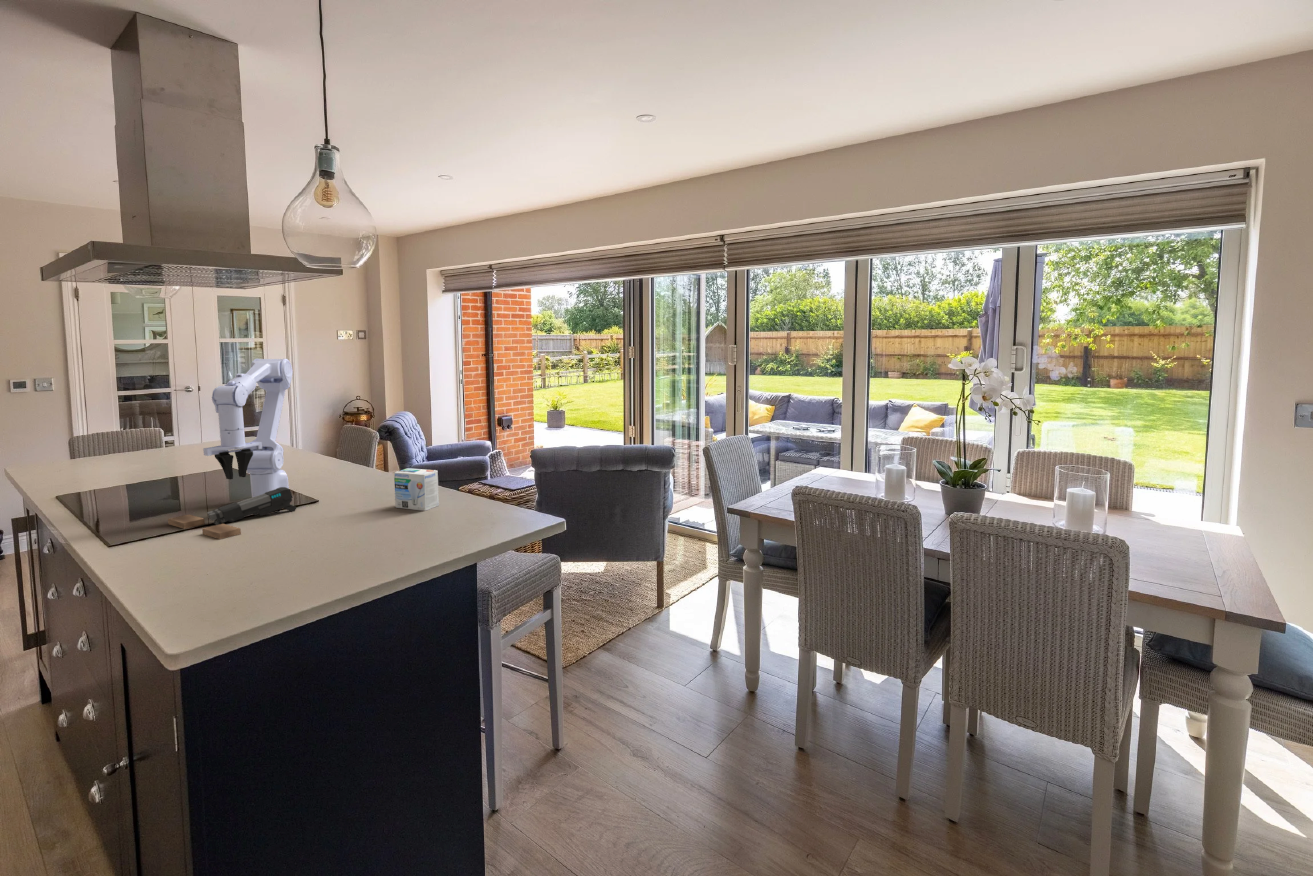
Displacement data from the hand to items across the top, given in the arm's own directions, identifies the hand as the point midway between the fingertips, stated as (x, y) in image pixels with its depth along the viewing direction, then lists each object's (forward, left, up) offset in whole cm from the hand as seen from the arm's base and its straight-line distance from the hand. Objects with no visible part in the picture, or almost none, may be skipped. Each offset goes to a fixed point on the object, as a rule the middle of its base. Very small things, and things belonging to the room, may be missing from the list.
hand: (236, 477), depth 186 cm
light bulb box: (-31, +36, -11) cm, 49 cm away
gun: (0, +7, -11) cm, 13 cm away
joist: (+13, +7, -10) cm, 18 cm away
